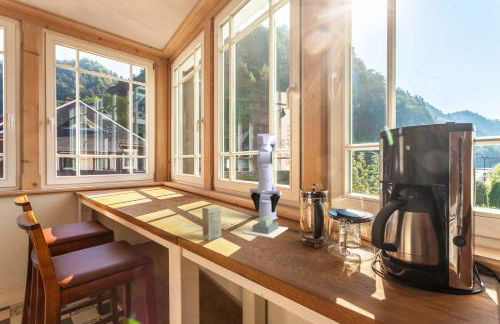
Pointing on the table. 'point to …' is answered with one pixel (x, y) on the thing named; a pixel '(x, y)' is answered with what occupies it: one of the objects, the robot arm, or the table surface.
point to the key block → (266, 221)
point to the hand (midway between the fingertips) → (265, 211)
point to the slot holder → (266, 230)
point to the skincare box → (211, 222)
